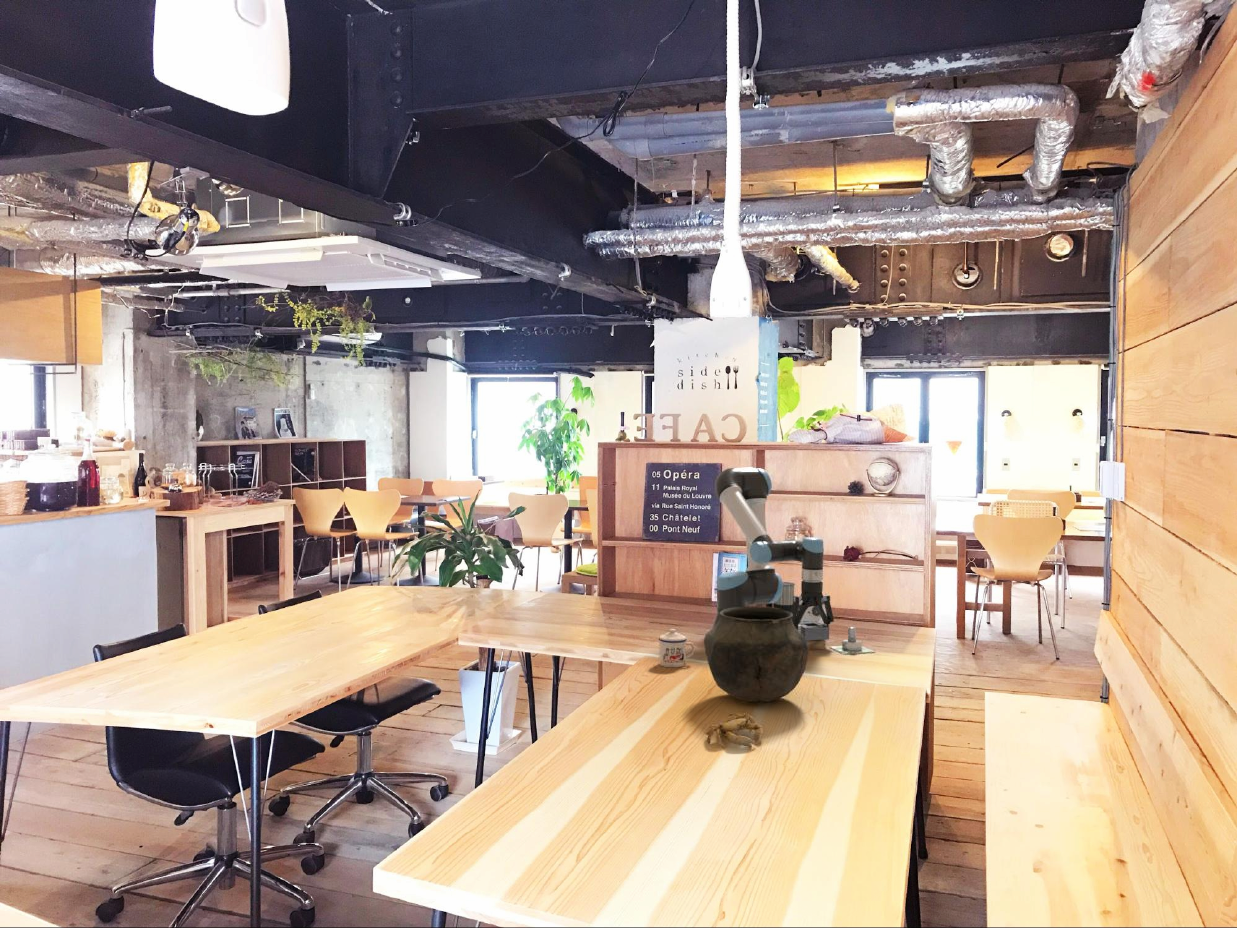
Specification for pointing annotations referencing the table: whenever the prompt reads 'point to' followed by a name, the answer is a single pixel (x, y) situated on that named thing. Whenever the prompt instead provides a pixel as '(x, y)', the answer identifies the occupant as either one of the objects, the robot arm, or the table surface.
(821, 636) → the grey square block
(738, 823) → the table surface
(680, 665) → the teacup with lid
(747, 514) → the robot arm
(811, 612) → the panda figurine
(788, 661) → the pot
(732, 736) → the crab model
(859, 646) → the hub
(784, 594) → the milk frother
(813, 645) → the stand
